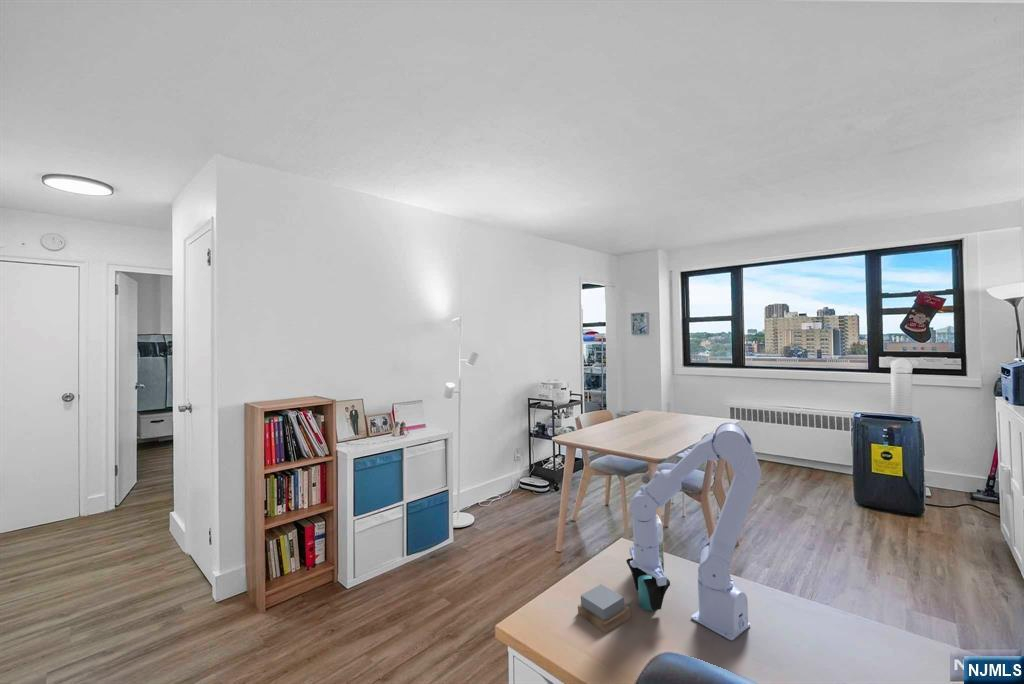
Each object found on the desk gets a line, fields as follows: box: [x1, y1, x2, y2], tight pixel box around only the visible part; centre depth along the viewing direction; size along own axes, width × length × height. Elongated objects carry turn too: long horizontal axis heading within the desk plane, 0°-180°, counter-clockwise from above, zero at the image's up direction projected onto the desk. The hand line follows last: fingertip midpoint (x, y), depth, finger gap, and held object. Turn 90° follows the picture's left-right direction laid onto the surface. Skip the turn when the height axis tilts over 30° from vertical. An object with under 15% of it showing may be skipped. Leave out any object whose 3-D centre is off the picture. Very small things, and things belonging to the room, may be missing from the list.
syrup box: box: [647, 514, 665, 576], centre depth 118 cm, size 6×6×14 cm
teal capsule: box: [637, 575, 655, 612], centre depth 103 cm, size 4×4×6 cm
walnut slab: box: [577, 603, 632, 634], centre depth 100 cm, size 8×8×2 cm
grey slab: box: [580, 583, 626, 621], centre depth 100 cm, size 7×7×2 cm
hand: (648, 599), depth 103 cm, fingers open, 7 cm apart
